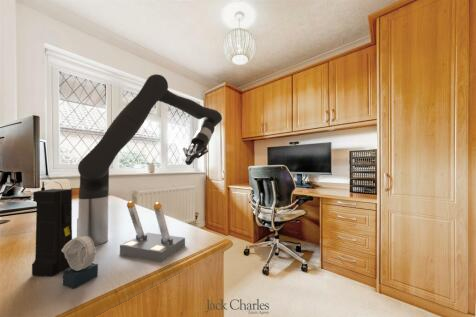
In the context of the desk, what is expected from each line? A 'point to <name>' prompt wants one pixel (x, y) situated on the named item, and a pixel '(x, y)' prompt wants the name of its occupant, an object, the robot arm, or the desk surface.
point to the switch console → (152, 247)
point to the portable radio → (52, 230)
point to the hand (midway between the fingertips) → (187, 163)
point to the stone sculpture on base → (79, 262)
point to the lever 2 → (161, 222)
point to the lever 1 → (135, 219)
